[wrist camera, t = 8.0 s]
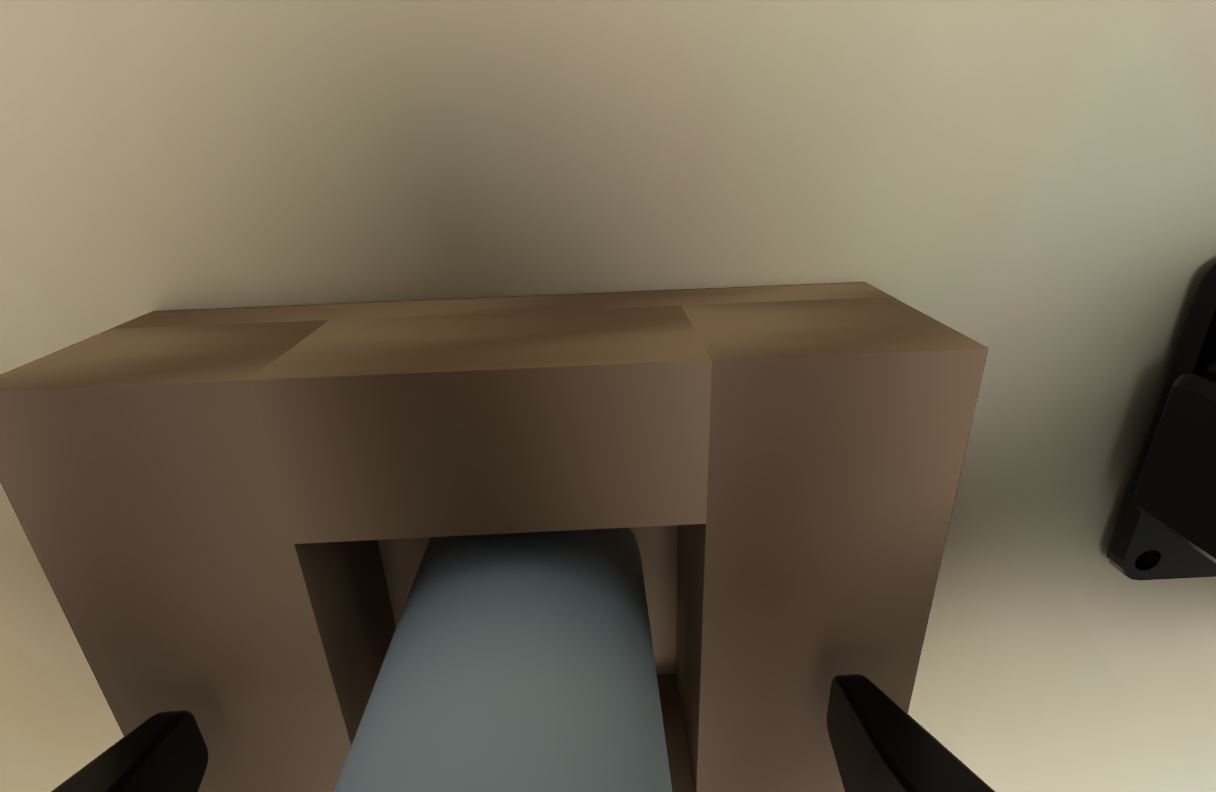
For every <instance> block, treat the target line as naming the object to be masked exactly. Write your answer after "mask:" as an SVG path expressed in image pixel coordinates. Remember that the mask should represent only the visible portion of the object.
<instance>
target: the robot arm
mask: <svg viewBox="0 0 1216 792" xmlns="http://www.w3.org/2000/svg"><path fill="white" fill-rule="evenodd" d="M1107 557H1108V560H1109V562H1110V563H1111V564H1112V565H1113V566H1115V567H1116V568H1117V569H1118V570H1120V571H1121V572H1122V573H1123V574H1124V575H1126V576H1127V577H1129V578H1131V579H1135V580H1153V579H1172V578H1192V577H1211V576H1216V265H1215V266H1214V267H1213V268H1212V269H1211V270H1210V271H1209V272H1208V273H1207V274H1206V275H1205V277H1204V279H1203V281H1202V283H1201V284H1200V287H1199V289H1198V292H1197V295H1196V298H1195V301H1194V304H1193V307H1192V310H1191V312H1190V315H1189V318H1188V321H1187V324H1186V327H1185V330H1184V332H1183V335H1182V338H1181V341H1180V344H1179V347H1178V350H1177V353H1176V355H1175V358H1174V361H1173V364H1172V367H1171V370H1170V373H1169V375H1168V378H1167V381H1166V384H1165V387H1164V390H1163V393H1162V396H1161V398H1160V401H1159V404H1158V407H1157V410H1156V413H1155V416H1154V418H1153V421H1152V424H1151V427H1150V430H1149V433H1148V436H1147V439H1146V441H1145V444H1144V447H1143V450H1142V453H1141V456H1140V459H1139V461H1138V464H1137V467H1136V470H1135V473H1134V476H1133V479H1132V482H1131V484H1130V487H1129V490H1128V493H1127V496H1126V499H1125V502H1124V504H1123V507H1122V510H1121V513H1120V516H1119V519H1118V522H1117V525H1116V527H1115V530H1114V533H1113V536H1112V539H1111V542H1110V545H1109V547H1108V553H1107ZM826 721H827V729H828V734H829V738H830V741H831V745H832V748H833V752H834V755H835V759H836V762H837V766H838V769H839V773H840V777H841V780H842V784H843V787H844V791H845V792H995V791H994V790H993V789H991V788H990V787H989V786H988V785H987V784H986V783H985V782H984V781H982V780H981V779H980V778H979V777H978V776H977V775H976V774H975V773H973V772H972V771H971V770H970V769H969V768H968V767H967V766H966V765H965V764H963V763H962V762H961V761H960V760H959V759H958V758H957V757H956V756H954V755H953V754H952V753H951V752H950V751H949V750H948V749H947V748H945V747H944V746H943V745H942V744H941V743H940V742H939V741H938V740H936V739H935V738H934V737H933V736H932V735H931V734H930V733H929V732H928V731H926V730H925V729H924V728H923V727H922V726H921V725H920V724H919V723H917V722H916V721H915V720H914V719H913V718H912V717H911V716H910V715H908V714H907V713H906V712H905V711H904V710H903V709H902V708H901V707H899V706H898V705H897V704H896V703H895V702H894V701H893V700H892V699H890V698H889V697H888V696H887V695H886V694H885V693H884V692H883V691H882V690H880V689H879V688H878V687H877V686H876V685H875V684H874V683H873V682H871V681H870V680H869V679H868V678H867V677H865V676H863V675H860V674H850V675H837V676H835V677H834V678H833V680H832V683H831V689H830V695H829V702H828V709H827V717H826ZM207 764H208V748H207V746H206V743H205V741H204V738H203V736H202V734H201V731H200V729H199V726H198V724H197V722H196V719H195V717H194V715H193V714H192V713H190V712H189V711H167V712H160V713H157V714H155V715H153V716H152V717H150V718H149V719H147V720H146V721H145V722H143V723H142V724H141V725H139V726H138V727H137V728H135V729H134V730H133V731H131V732H130V733H129V734H127V735H126V736H125V737H123V738H122V739H121V740H119V741H118V742H117V743H115V744H114V745H113V746H111V747H110V748H109V749H107V750H106V751H105V752H103V753H102V754H101V755H99V756H98V757H97V758H95V759H94V760H93V761H91V762H90V763H89V764H87V765H86V766H85V767H83V768H82V769H81V770H79V771H78V772H77V773H75V774H74V775H73V776H71V777H70V778H69V779H67V780H66V781H65V782H63V783H62V784H61V785H59V786H58V787H57V788H55V789H54V790H53V791H51V792H198V790H199V787H200V785H201V782H202V779H203V777H204V774H205V772H206V768H207Z"/></svg>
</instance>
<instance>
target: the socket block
mask: <svg viewBox="0 0 1216 792" xmlns="http://www.w3.org/2000/svg"><path fill="white" fill-rule="evenodd" d="M987 352H988V348H987V347H985V346H983V345H981V344H979V343H978V342H976V341H974V340H972V339H970V338H968V337H966V336H964V335H963V334H961V333H959V332H957V331H955V330H953V329H951V328H949V327H948V326H946V325H944V324H942V323H940V322H938V321H936V320H934V319H933V318H931V317H929V316H927V315H925V314H923V313H921V312H920V311H918V310H916V309H914V308H912V307H910V306H908V305H906V304H905V303H903V302H901V301H899V300H897V299H895V298H893V297H891V296H890V295H888V294H886V293H884V292H882V291H880V290H878V289H876V288H875V287H873V286H871V285H869V284H867V283H865V282H861V283H836V284H812V285H787V286H763V287H739V288H714V289H690V290H665V291H641V292H616V293H592V294H567V295H543V296H519V297H494V298H470V299H445V300H421V301H396V302H372V303H347V304H323V305H299V306H274V307H250V308H225V309H201V310H176V311H152V312H150V313H148V314H145V315H143V316H141V317H138V318H136V319H133V320H131V321H129V322H126V323H124V324H121V325H119V326H117V327H114V328H112V329H109V330H107V331H105V332H102V333H100V334H97V335H95V336H93V337H90V338H88V339H85V340H83V341H81V342H78V343H76V344H73V345H71V346H69V347H66V348H64V349H61V350H59V351H57V352H54V353H52V354H49V355H47V356H45V357H42V358H40V359H37V360H35V361H33V362H30V363H28V364H25V365H23V366H21V367H18V368H16V369H13V370H11V371H9V372H6V373H4V374H1V375H0V482H1V484H2V486H3V488H4V490H5V492H6V494H7V497H8V499H9V501H10V503H11V505H12V507H13V509H14V511H15V513H16V515H17V517H18V519H19V521H20V523H21V525H22V527H23V529H24V531H25V534H26V536H27V538H28V540H29V542H30V544H31V546H32V548H33V550H34V552H35V554H36V556H37V558H38V560H39V562H40V564H41V566H42V569H43V571H44V573H45V575H46V577H47V579H48V581H49V583H50V585H51V587H52V589H53V591H54V593H55V595H56V597H57V599H58V601H59V603H60V606H61V608H62V610H63V612H64V614H65V616H66V618H67V620H68V622H69V624H70V626H71V628H72V630H73V632H74V634H75V636H76V638H77V640H78V643H79V645H80V647H81V649H82V651H83V653H84V655H85V657H86V659H87V661H88V663H89V665H90V667H91V669H92V671H93V673H94V675H95V678H96V680H97V682H98V684H99V686H100V688H101V690H102V692H103V694H104V696H105V698H106V700H107V702H108V704H109V706H110V708H111V710H112V712H113V715H114V717H115V719H116V721H117V723H118V725H119V727H120V729H121V731H122V733H123V735H124V737H125V736H126V735H127V734H129V733H130V732H131V731H133V730H134V729H135V728H137V727H138V726H139V725H141V724H142V723H143V722H145V721H146V720H147V719H149V718H150V717H152V716H153V715H155V714H157V713H160V712H167V711H189V712H190V713H192V714H193V715H194V717H195V719H196V722H197V724H198V726H199V729H200V731H201V734H202V736H203V738H204V741H205V743H206V746H207V748H208V764H207V768H206V772H205V774H204V777H203V779H202V782H201V785H200V787H199V790H198V792H334V791H335V788H336V785H337V783H338V780H339V777H340V775H341V772H342V770H343V767H344V764H345V762H346V759H347V756H348V754H349V751H350V748H351V746H352V743H353V741H354V738H355V735H356V733H357V730H358V727H359V725H360V722H361V719H362V717H363V714H364V711H365V709H366V706H367V704H368V701H369V698H370V696H371V693H372V690H373V688H374V685H375V682H376V680H377V677H378V675H379V672H380V669H381V667H382V664H383V661H384V659H385V656H386V653H387V651H388V648H389V645H390V643H391V640H392V638H393V635H394V632H395V630H396V627H397V624H398V622H399V619H400V616H401V614H402V611H403V609H404V606H405V603H406V601H407V598H408V595H409V593H410V590H411V587H412V585H413V582H414V579H415V577H416V574H417V572H418V569H419V566H420V564H421V561H422V558H423V556H424V553H425V550H426V548H427V545H428V543H429V540H430V538H431V537H447V536H467V535H487V534H508V533H528V532H549V531H569V530H589V529H610V528H630V529H631V531H632V533H633V535H634V537H635V539H636V541H637V544H638V547H639V551H640V555H641V561H642V569H643V576H644V584H645V591H646V599H647V606H648V614H649V621H650V629H651V636H652V643H653V651H654V658H655V666H656V673H657V681H658V688H659V696H660V703H661V711H662V718H663V726H664V733H665V740H666V748H667V755H668V763H669V770H670V778H671V785H672V792H845V791H844V787H843V784H842V780H841V777H840V773H839V769H838V766H837V762H836V759H835V755H834V752H833V748H832V745H831V741H830V738H829V734H828V729H827V721H826V717H827V709H828V702H829V695H830V689H831V683H832V680H833V678H834V677H835V676H837V675H850V674H860V675H863V676H865V677H867V678H868V679H869V680H870V681H871V682H873V683H874V684H875V685H876V686H877V687H878V688H879V689H880V690H882V691H883V692H884V693H885V694H886V695H887V696H888V697H889V698H890V699H892V700H893V701H894V702H895V703H896V704H897V705H898V706H899V707H901V708H902V709H903V710H904V711H905V712H906V713H908V709H909V704H910V700H911V695H912V691H913V686H914V682H915V677H916V673H917V668H918V664H919V659H920V655H921V650H922V645H923V641H924V636H925V632H926V627H927V623H928V618H929V614H930V609H931V605H932V600H933V596H934V591H935V587H936V582H937V578H938V573H939V569H940V564H941V560H942V555H943V551H944V546H945V542H946V537H947V533H948V528H949V523H950V519H951V514H952V510H953V505H954V501H955V496H956V492H957V487H958V483H959V478H960V474H961V469H962V465H963V460H964V456H965V451H966V447H967V442H968V438H969V433H970V429H971V424H972V420H973V415H974V411H975V406H976V402H977V397H978V392H979V388H980V383H981V379H982V374H983V370H984V365H985V361H986V356H987Z"/></svg>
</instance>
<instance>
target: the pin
mask: <svg viewBox="0 0 1216 792" xmlns="http://www.w3.org/2000/svg"><path fill="white" fill-rule="evenodd" d="M334 792H672V785H671V778H670V770H669V763H668V755H667V748H666V740H665V733H664V726H663V718H662V711H661V703H660V696H659V688H658V681H657V673H656V666H655V658H654V651H653V643H652V636H651V629H650V621H649V614H648V606H647V599H646V591H645V584H644V576H643V569H642V561H641V555H640V551H639V547H638V544H637V541H636V539H635V537H634V535H633V533H632V531H631V529H630V528H610V529H589V530H569V531H549V532H528V533H508V534H487V535H467V536H447V537H431V538H430V540H429V543H428V545H427V548H426V550H425V553H424V556H423V558H422V561H421V564H420V566H419V569H418V572H417V574H416V577H415V579H414V582H413V585H412V587H411V590H410V593H409V595H408V598H407V601H406V603H405V606H404V609H403V611H402V614H401V616H400V619H399V622H398V624H397V627H396V630H395V632H394V635H393V638H392V640H391V643H390V645H389V648H388V651H387V653H386V656H385V659H384V661H383V664H382V667H381V669H380V672H379V675H378V677H377V680H376V682H375V685H374V688H373V690H372V693H371V696H370V698H369V701H368V704H367V706H366V709H365V711H364V714H363V717H362V719H361V722H360V725H359V727H358V730H357V733H356V735H355V738H354V741H353V743H352V746H351V748H350V751H349V754H348V756H347V759H346V762H345V764H344V767H343V770H342V772H341V775H340V777H339V780H338V783H337V785H336V788H335V791H334Z"/></svg>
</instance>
